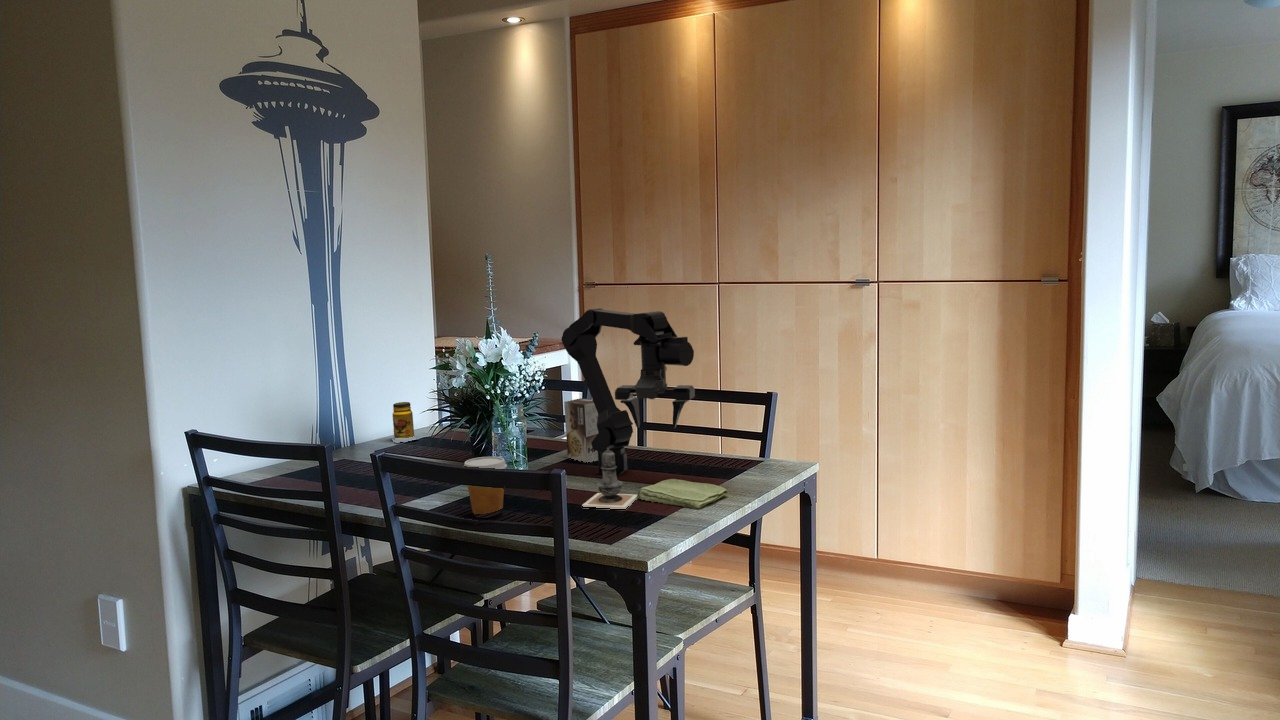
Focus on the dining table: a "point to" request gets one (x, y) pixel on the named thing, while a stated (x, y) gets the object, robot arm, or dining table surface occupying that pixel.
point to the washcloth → (682, 493)
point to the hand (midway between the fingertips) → (656, 427)
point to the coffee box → (581, 429)
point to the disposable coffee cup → (483, 496)
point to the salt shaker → (609, 479)
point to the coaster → (623, 504)
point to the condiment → (403, 420)
